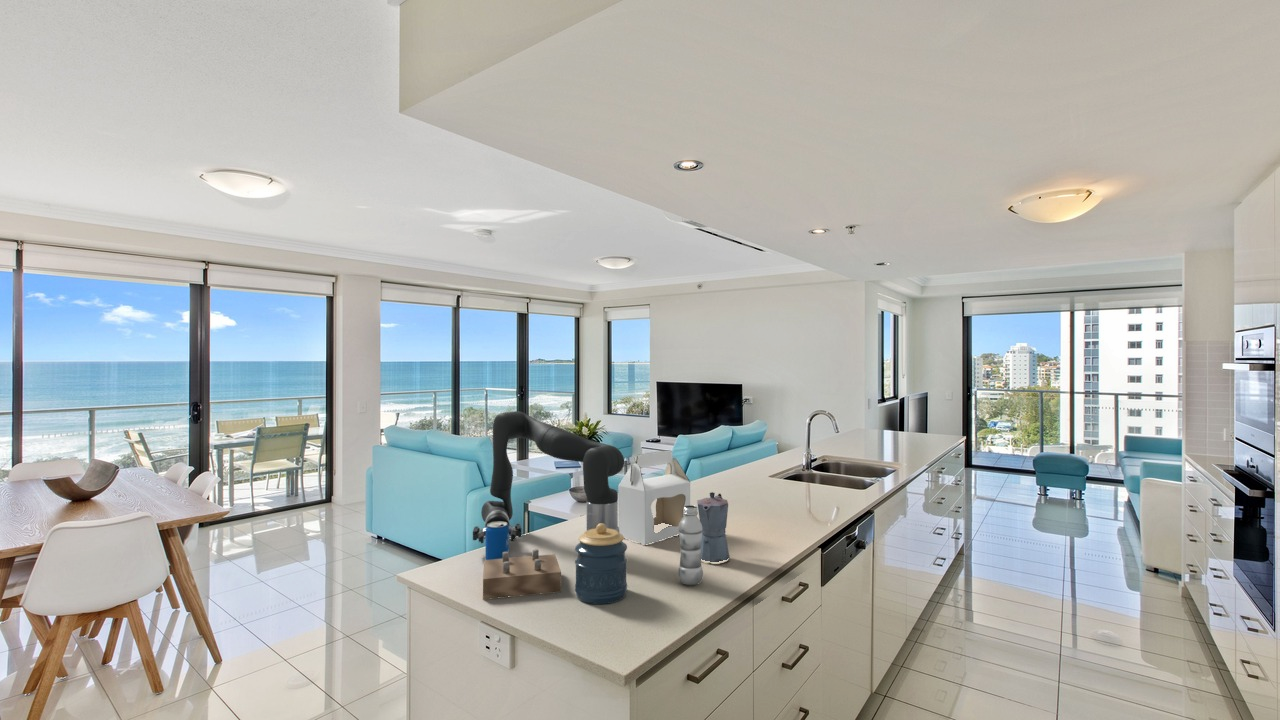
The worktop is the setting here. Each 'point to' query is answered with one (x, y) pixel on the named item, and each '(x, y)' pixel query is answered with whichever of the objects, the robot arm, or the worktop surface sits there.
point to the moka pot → (713, 528)
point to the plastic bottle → (690, 547)
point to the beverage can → (496, 540)
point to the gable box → (652, 498)
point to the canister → (601, 566)
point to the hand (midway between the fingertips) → (497, 538)
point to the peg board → (521, 575)
